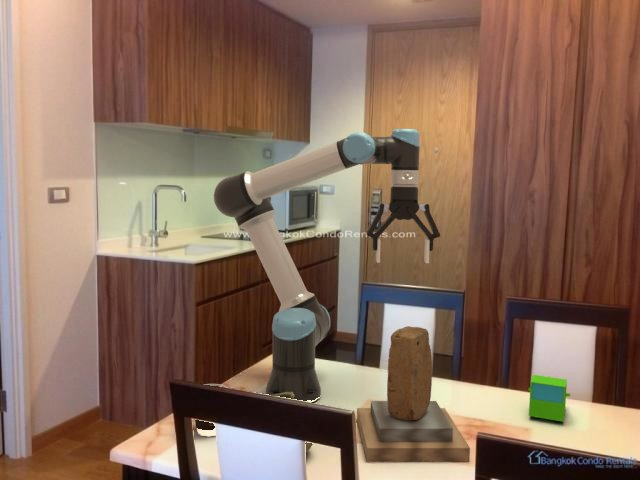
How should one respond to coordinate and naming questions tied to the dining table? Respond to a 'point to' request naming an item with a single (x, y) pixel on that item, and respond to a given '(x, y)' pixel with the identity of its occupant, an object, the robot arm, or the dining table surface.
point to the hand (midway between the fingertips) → (402, 262)
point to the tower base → (409, 447)
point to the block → (409, 373)
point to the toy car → (548, 398)
